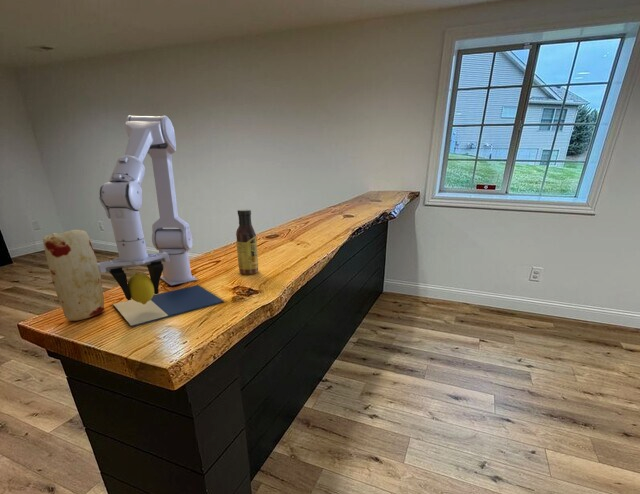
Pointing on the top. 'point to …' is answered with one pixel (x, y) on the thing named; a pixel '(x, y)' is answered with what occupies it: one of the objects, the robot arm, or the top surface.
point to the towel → (166, 305)
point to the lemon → (141, 288)
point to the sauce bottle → (246, 244)
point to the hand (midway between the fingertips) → (142, 295)
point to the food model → (75, 274)
